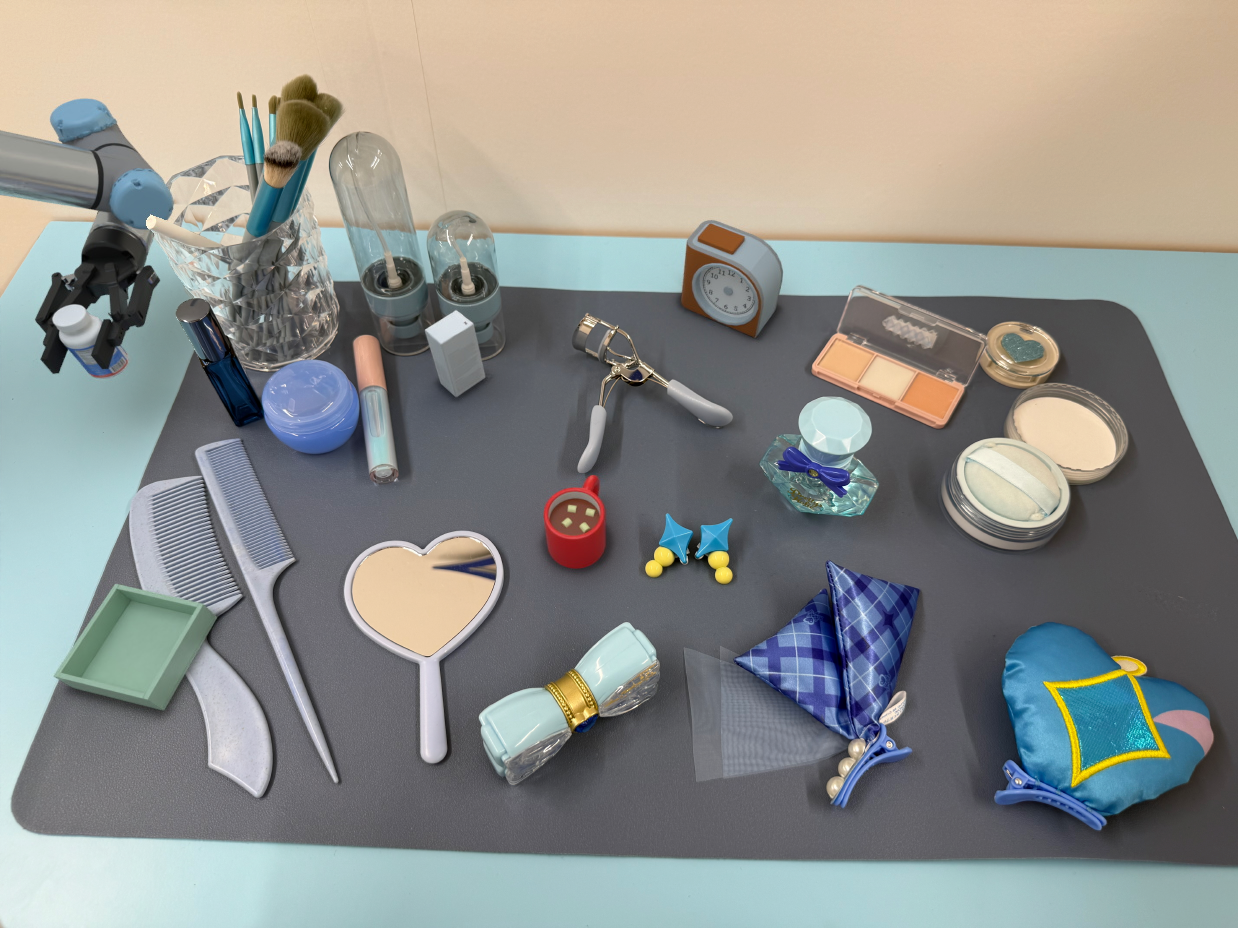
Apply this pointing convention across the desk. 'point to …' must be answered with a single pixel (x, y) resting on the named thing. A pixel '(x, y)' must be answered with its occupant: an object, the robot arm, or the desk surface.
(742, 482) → the desk surface
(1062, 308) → the desk surface
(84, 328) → the pill bottle
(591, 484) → the mug
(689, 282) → the alarm clock
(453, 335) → the cosmetic box
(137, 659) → the tray
